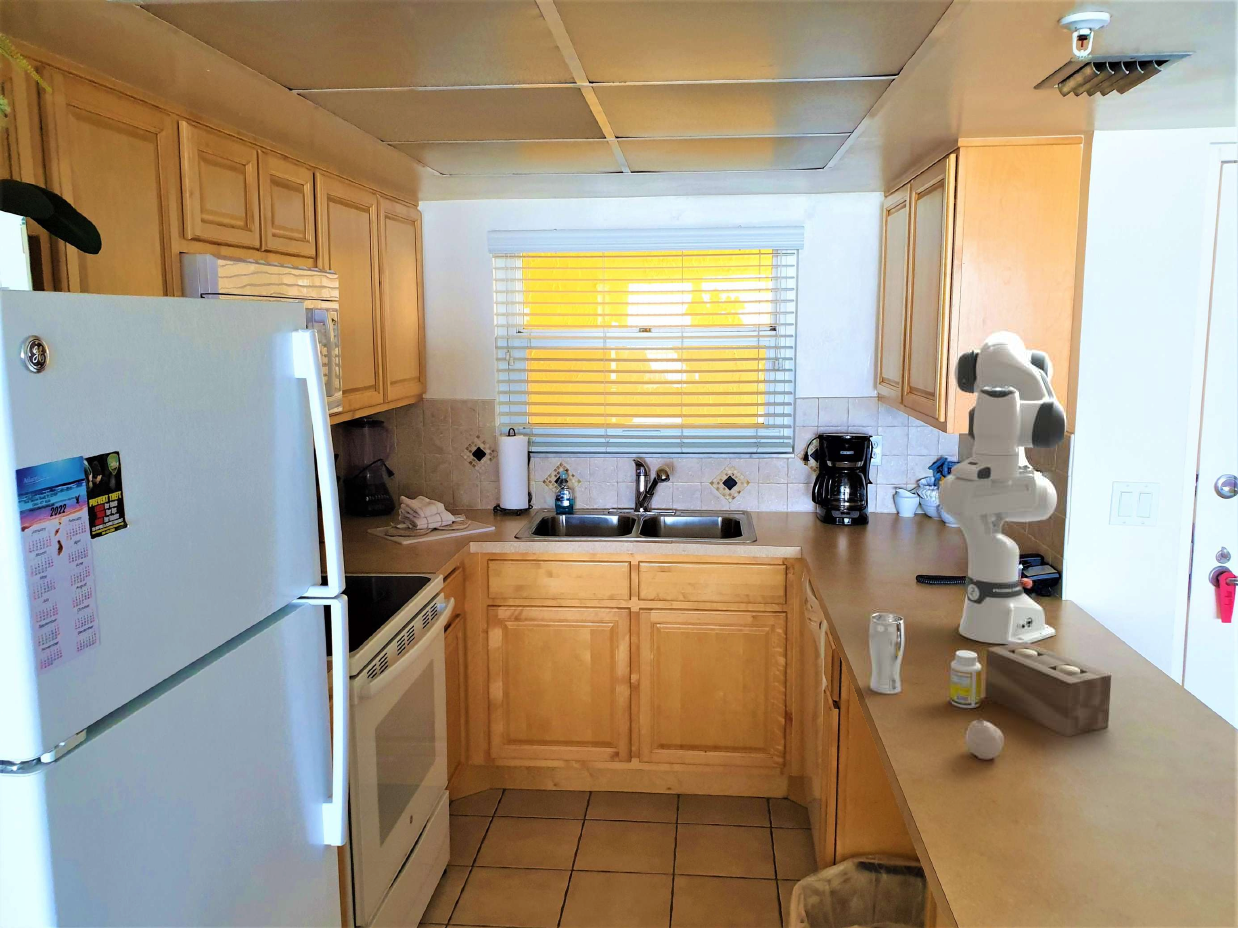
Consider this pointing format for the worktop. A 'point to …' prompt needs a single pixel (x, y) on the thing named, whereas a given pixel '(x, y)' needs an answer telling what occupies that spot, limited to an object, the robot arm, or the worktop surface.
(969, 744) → the garlic bulb
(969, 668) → the supplement bottle
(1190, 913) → the worktop surface
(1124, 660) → the worktop surface
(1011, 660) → the block
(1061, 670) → the peg
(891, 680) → the beer glass
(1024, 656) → the peg
